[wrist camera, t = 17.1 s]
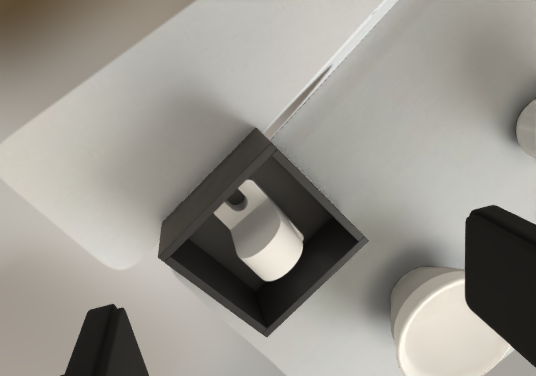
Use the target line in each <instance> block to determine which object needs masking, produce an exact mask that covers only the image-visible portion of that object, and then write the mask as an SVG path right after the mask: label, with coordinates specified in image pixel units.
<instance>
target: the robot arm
mask: <svg viewBox="0 0 536 376" xmlns="http://www.w3.org/2000/svg"><path fill="white" fill-rule="evenodd" d="M465 301H466V303H467V305H468V307H469V308H470V310H471V311H472V312H474V313H475V314H476V315H477V316H478V317H479V318H480V319H482V320H483V321H484V322H485V323H486V324H487V325H488V326H489V327H491V328H492V329H493V330H494V331H495V332H496V333H497V334H498V335H500V336H501V337H502V338H503V339H504V340H505V341H506V342H507V343H509V344H510V345H511V346H512V347H513V348H514V349H515V350H516V351H518V352H519V353H520V354H521V355H522V356H523V357H524V358H525V359H527V360H528V361H529V362H530V363H531V364H532V365H534V366H535V367H536V225H535V224H533V223H531V222H529V221H527V220H525V219H523V218H521V217H519V216H517V215H515V214H513V213H511V212H508V211H506V210H504V209H502V208H500V207H498V206H495V205H491V206H487V207H483V208H479V209H475V210H473V211H471V213H470V216H469V217H468V218H467V219H466V226H465ZM61 376H149V374H148V371H147V369H146V366H145V363H144V360H143V358H142V355H141V352H140V349H139V347H138V344H137V341H136V338H135V336H134V333H133V330H132V327H131V325H130V322H129V319H128V316H127V314H126V311H125V310H124V308H119V309H117V307H116V306H115V305H114V304H111V305H107V306H103V307H99V308H95V309H91V310H89V311H88V313H87V315H86V318H85V320H84V323H83V326H82V328H81V331H80V334H79V337H78V339H77V342H76V345H75V347H74V350H73V353H72V356H71V358H70V361H69V364H68V367H67V369H66V372H65V374H64V375H61Z"/></svg>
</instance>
